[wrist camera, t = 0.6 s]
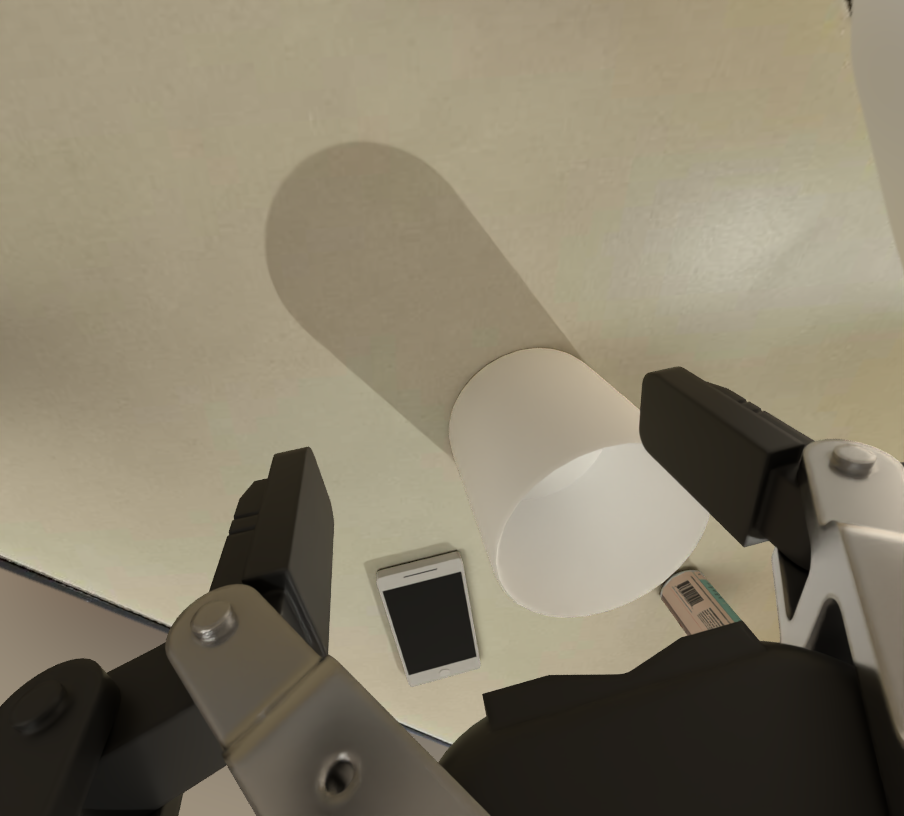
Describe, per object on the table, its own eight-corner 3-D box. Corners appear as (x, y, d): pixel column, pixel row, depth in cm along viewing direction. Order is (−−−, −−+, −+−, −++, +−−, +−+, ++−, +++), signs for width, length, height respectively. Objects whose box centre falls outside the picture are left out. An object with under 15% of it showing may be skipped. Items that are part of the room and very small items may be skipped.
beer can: (650, 600, 46) (736, 726, 36) (668, 566, 44) (766, 688, 34) (689, 599, 48) (783, 721, 37) (709, 566, 46) (814, 684, 35)
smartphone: (408, 679, 45) (409, 689, 44) (374, 570, 37) (375, 580, 36) (479, 660, 45) (481, 669, 45) (459, 549, 38) (462, 558, 37)
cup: (511, 511, 37) (572, 646, 27) (413, 426, 32) (444, 553, 21) (629, 419, 35) (745, 527, 25) (546, 311, 30) (651, 390, 19)
